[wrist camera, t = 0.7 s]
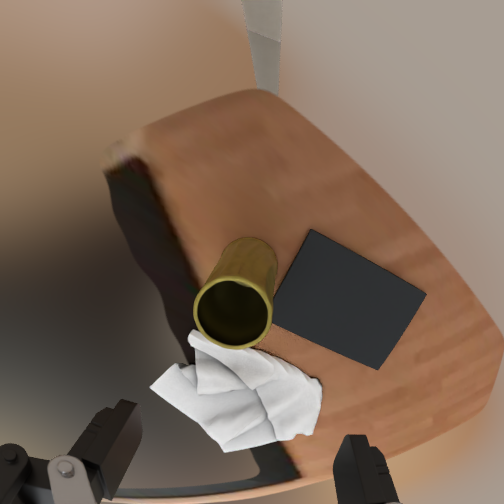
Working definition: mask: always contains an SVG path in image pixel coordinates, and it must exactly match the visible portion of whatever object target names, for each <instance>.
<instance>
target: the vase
mask: <svg viewBox="0 0 504 504" xmlns="http://www.w3.org/2000/svg"><path fill="white" fill-rule="evenodd" d="M277 266H278V263H277V259H276V256H275V253H274V251H273V250H272V249H271V247H270V246H269V245H267V244H266V243H265V242H263V241H261V240H259V239H256V238H250V237H245V238H240V239H237V240H235V241H233V242H232V243H230V244H229V245H228V246H227V247H226V249H225V250H224V251H223V253H222V256H221V258H220V260H219V262H218V263H217V265H216V267H215V268H214V270H213V271H212V273H211V275H210V276H209V278H208V280H207V281H206V283H205V285H204V286H203V287H202V289H201V290H200V292H199V293H198V295H197V296H196V298H195V302H194V308H193V314H194V320H195V322H196V325H197V327H198V329H199V331H200V332H201V334H202V335H203V336H204V337H205V338H206V339H207V340H209V341H210V342H212V343H214V344H216V345H218V346H220V347H222V348H226V349H233V350H241V349H245V348H248V347H251V346H253V345H255V344H257V343H259V342H260V341H261V340H262V339H263V338H264V337H265V336H266V334H267V333H268V331H269V329H270V327H271V324H272V314H273V293H274V285H275V276H276V274H277Z"/></svg>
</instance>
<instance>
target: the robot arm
mask: <svg viewBox="0 0 504 504" xmlns="http://www.w3.org/2000/svg"><path fill="white" fill-rule="evenodd" d="M141 438H142V420H141V407H140V404H137V403H134V402H130V401H127V400H124V399H121V400H120V401H119V402H118V403H117V405H116V406H115V408H114V409H111V408H108V407H106V408H105V409H103V410H101V411H100V412H98V413H97V414H96V415H95V417H94V418H93V419H92V421H91V423H89V425H88V426H87V428H86V430H84V432H83V433H82V435H81V436H80V437H79V439H78V440H77V441H76V443H75V444H74V446H73V447H72V448H71V450H70V451H69V453H68V454H67V455H59V456H56V457H54V458H53V459H51V460H44V459H38V458H34V457H29V456H28V455H27V453H26V451H25V450H24V449H23V448H22V447H21V446H19V445H17V444H4V445H2V446H0V504H100V502H101V500H102V498H105V499H108V500H111V501H112V499H113V497H114V495H115V493H116V491H117V489H118V487H119V485H120V483H121V481H122V479H123V477H124V475H125V473H126V471H127V469H128V467H129V465H130V463H131V460H132V458H133V456H134V454H135V452H136V450H137V448H138V446H139V444H140V442H141ZM333 475H334V481H335V487H336V493H337V499H338V504H402V503H400V502H399V499H398V496H397V493H396V490H395V487H394V484H393V481H392V478H391V475H390V474H389V469H388V467H387V463H386V460H385V458H384V455H383V454H382V453H381V452H380V450H379V449H378V448H377V447H376V446H375V447H370V446H369V443H368V440H367V437H366V435H346V436H345V437H344V439H343V442H342V444H341V446H340V448H339V451H338V453H337V455H336V457H335V460H334V464H333Z"/></svg>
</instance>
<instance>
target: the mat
mask: <svg viewBox="0 0 504 504" xmlns="http://www.w3.org/2000/svg"><path fill="white" fill-rule="evenodd" d="M426 295H427V294H426V293H425V292H423V291H421V290H419V289H418V288H416V287H414V286H413V285H411V284H409V283H408V282H406V281H404V280H402V279H401V278H399V277H397V276H395V275H394V274H392V273H390V272H388V271H387V270H385V269H383V268H381V267H380V266H378V265H376V264H374V263H373V262H371V261H369V260H367V259H365V258H364V257H362V256H360V255H358V254H356V253H355V252H353V251H351V250H349V249H347V248H346V247H344V246H342V245H340V244H338V243H336V242H335V241H333V240H331V239H329V238H327V237H325V236H323V235H322V234H320V233H318V232H316V231H314V230H312V229H310V231H309V233H308V235H307V237H306V239H305V241H304V243H303V244H302V246H301V248H300V250H299V252H298V254H297V256H296V257H295V259H294V261H293V263H292V265H291V267H290V269H289V270H288V272H287V274H286V276H285V278H284V279H283V281H282V283H281V285H280V287H279V289H278V290H277V292H276V294H275V296H274V298H273V314H272V323H273V324H275V325H278V326H280V327H282V328H284V329H286V330H288V331H290V332H292V333H295V334H297V335H299V336H301V337H303V338H305V339H308V340H310V341H312V342H314V343H316V344H319V345H321V346H323V347H325V348H327V349H330V350H332V351H334V352H336V353H339V354H341V355H343V356H346V357H348V358H350V359H352V360H355V361H357V362H359V363H362V364H364V365H366V366H369V367H371V368H374V369H376V370H379V368H380V367H381V365H382V364H383V363H384V361H385V360H386V358H387V357H388V355H389V354H390V352H391V351H392V350H393V348H394V347H395V345H396V344H397V342H398V341H399V339H400V337H401V336H402V334H403V333H404V331H405V330H406V328H407V327H408V325H409V323H410V322H411V320H412V318H413V317H414V315H415V314H416V312H417V310H418V309H419V307H420V305H421V303H422V302H423V300H424V298H425V297H426Z"/></svg>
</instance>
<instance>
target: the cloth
mask: <svg viewBox="0 0 504 504" xmlns="http://www.w3.org/2000/svg"><path fill="white" fill-rule="evenodd" d="M188 341H189V343H190V345H191V346H192V347H194V348H195V356H196V365H193V364H191V365H189V366H188V365H186V364H183V363H175V364H173V365H172V366H171V367H170V368H169V369H168V370H167V371H166V372H165V373H164V374H163V375H162V376H161V377H160V378H158V379H157V380H156V381H155V382H154V384H153V385H151V386H150V388H151V389H152V390H153V391H155V392H156V393H157V394H158V395H159V396H161V397H162V398H164V399H165V400H166V401H168V402H169V403H170V404H172V405H173V406H175V407H176V408H177V409H179V410H180V411H181V412H183V413H184V414H186V415H187V416H189V417H190V418H191V419H193V420H195V421H196V422H198V423H199V424H200V425H201V427H202V428H203V429H204V430H205V431H206V432H207V433H208V435H209V436H210V437H211V438H212V439H214V440H215V441H217V442H218V443H219V445H220V447H221V448H222V450H223V451H224V453H225V452H231V451H237V450H242V449H247V448H251V447H256V446H260V445H264V444H267V443H271V442H275V441H283V440H291V439H294V437H295V436H296V434H304V435H307V436H308V435H311V434H313V430H314V427H315V425H316V423H317V418H318V415H319V412H320V408H321V401H322V385H321V384H320V382H319V380H318V378H313V379H311V378H310V377H309V376H308V375H307V374H305V373H303V372H302V371H300V370H299V369H298V368H297V367H295V366H294V365H292V364H290V363H287V362H285V361H284V360H282V359H280V358H278V357H276V356H270V355H269V354H267V353H266V352H264V351H261V350H256V349H252V348H250V347H248V348H245V349H241V350H233V349H226V348H222V347H220V346H218V345H216V344H214V343H212V342H210V341H209V340H207V339H206V338H205V337H204V336H203V335H202V334H201V333H200V332H198V331H196V330H194V329H193V330H192V332H191V333H190V334H189V337H188Z"/></svg>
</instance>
